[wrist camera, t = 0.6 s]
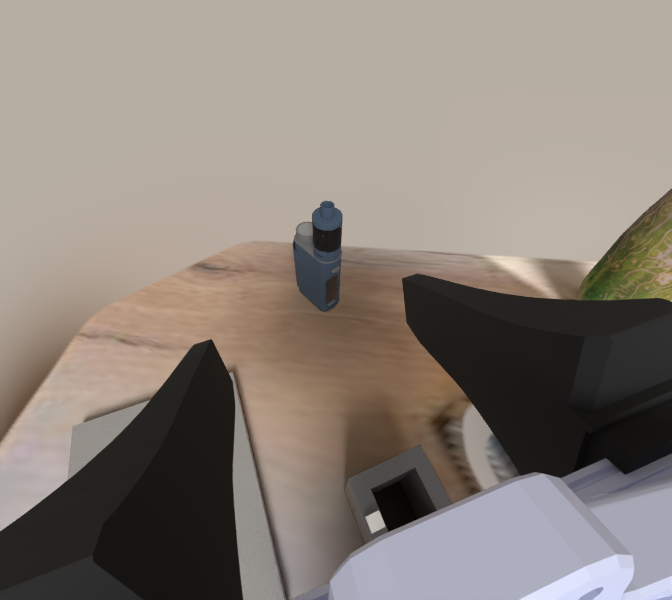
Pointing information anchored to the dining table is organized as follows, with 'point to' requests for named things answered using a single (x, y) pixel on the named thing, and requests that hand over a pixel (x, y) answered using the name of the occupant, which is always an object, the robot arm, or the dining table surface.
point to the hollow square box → (404, 468)
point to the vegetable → (636, 260)
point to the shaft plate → (250, 514)
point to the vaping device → (319, 256)
